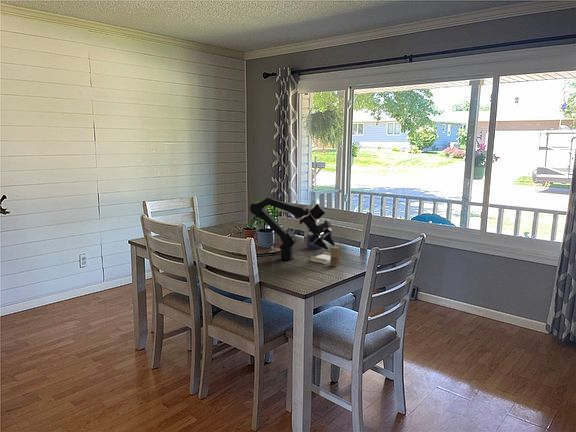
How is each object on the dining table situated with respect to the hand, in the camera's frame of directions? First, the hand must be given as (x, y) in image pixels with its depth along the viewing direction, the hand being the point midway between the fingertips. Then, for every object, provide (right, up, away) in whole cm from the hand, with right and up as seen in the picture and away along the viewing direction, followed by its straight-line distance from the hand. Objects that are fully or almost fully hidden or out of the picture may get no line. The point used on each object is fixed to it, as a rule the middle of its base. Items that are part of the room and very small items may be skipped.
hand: (331, 247), depth 230 cm
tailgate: (-2, -8, +10) cm, 13 cm away
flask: (-6, -3, +35) cm, 36 cm away
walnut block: (+2, -10, 0) cm, 10 cm away
